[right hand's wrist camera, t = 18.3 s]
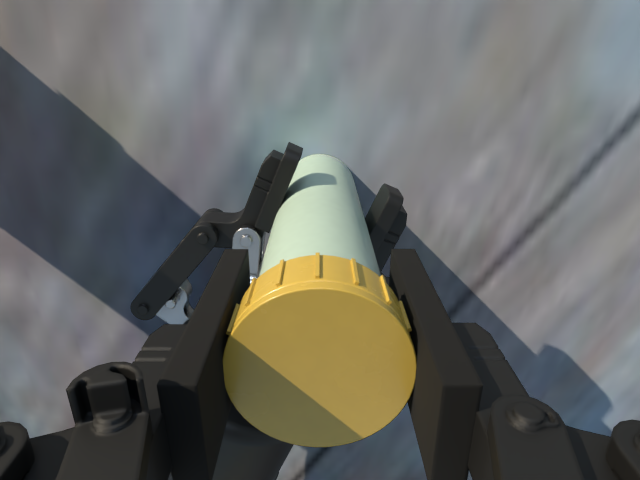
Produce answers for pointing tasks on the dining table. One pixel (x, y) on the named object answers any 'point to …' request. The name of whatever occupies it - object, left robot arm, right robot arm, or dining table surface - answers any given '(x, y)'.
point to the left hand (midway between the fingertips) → (345, 171)
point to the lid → (319, 352)
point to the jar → (320, 216)
